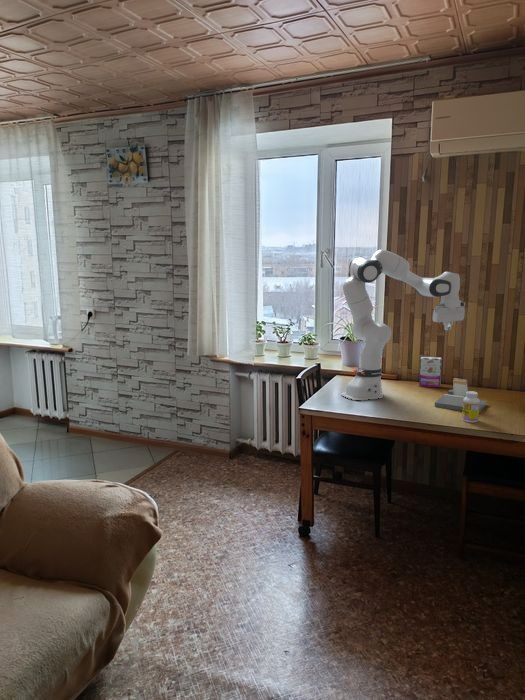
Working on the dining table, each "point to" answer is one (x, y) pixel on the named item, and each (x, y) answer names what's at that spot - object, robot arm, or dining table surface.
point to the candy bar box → (430, 371)
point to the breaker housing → (454, 402)
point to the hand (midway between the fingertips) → (447, 330)
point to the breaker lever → (460, 387)
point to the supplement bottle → (470, 407)
